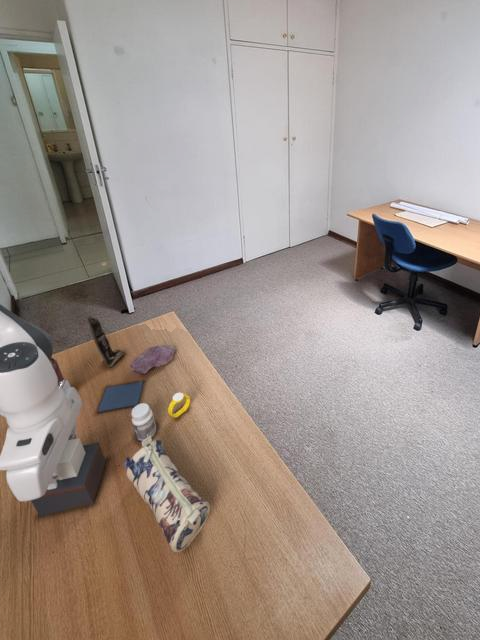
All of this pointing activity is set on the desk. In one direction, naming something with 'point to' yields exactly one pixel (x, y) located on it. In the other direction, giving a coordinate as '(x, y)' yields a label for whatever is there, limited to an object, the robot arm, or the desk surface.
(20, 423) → the robot arm
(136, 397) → the mat
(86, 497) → the storage box
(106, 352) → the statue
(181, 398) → the watch
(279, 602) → the desk surface
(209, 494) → the desk surface
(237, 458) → the desk surface
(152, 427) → the pill bottle
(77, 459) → the small box
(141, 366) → the fossil
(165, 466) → the pencil case
